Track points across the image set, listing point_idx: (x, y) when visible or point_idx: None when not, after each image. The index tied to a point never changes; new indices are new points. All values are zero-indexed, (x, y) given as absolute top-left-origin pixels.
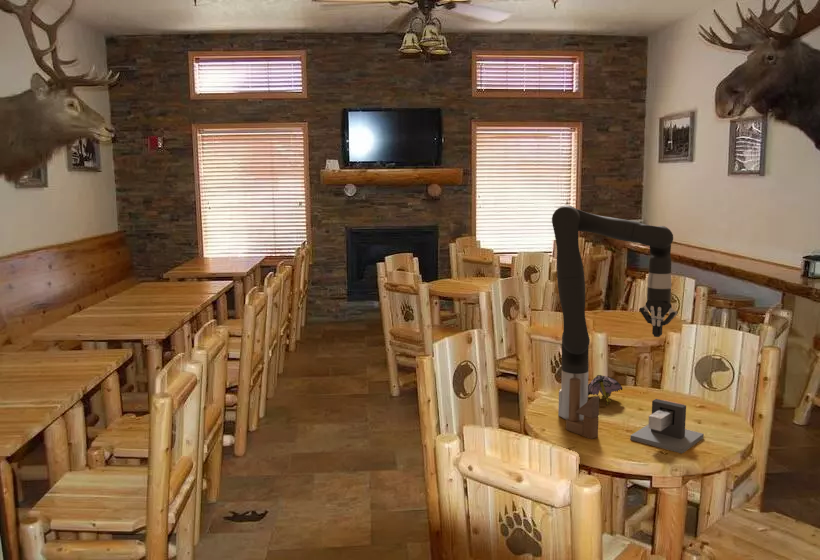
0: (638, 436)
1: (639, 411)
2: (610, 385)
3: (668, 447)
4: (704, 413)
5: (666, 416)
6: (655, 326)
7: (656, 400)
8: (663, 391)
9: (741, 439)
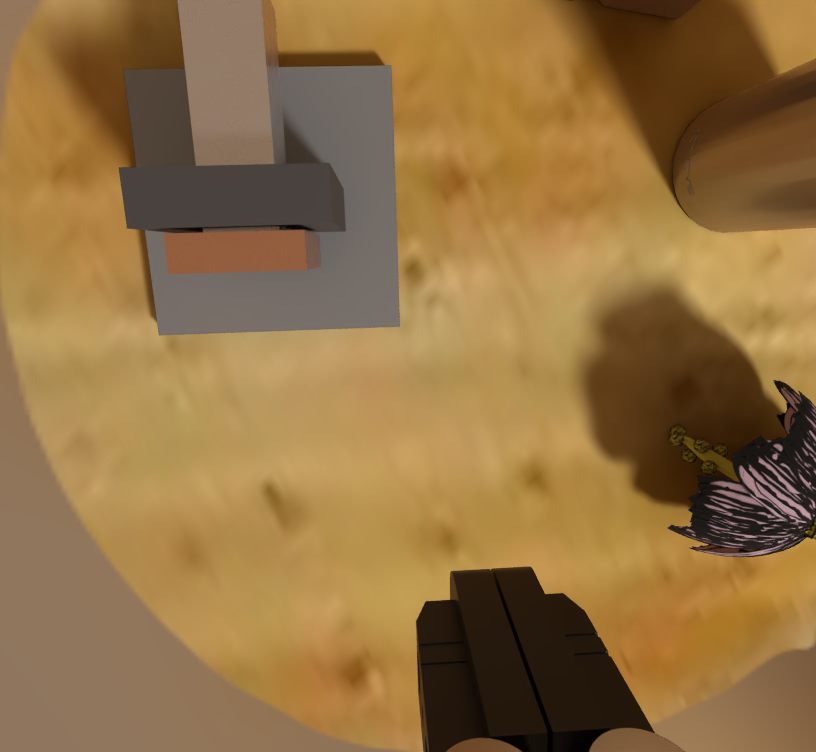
0: (354, 77)
1: (526, 449)
2: (742, 550)
3: None
4: (307, 609)
5: (186, 66)
6: (566, 725)
7: (313, 191)
8: None
9: (51, 428)
